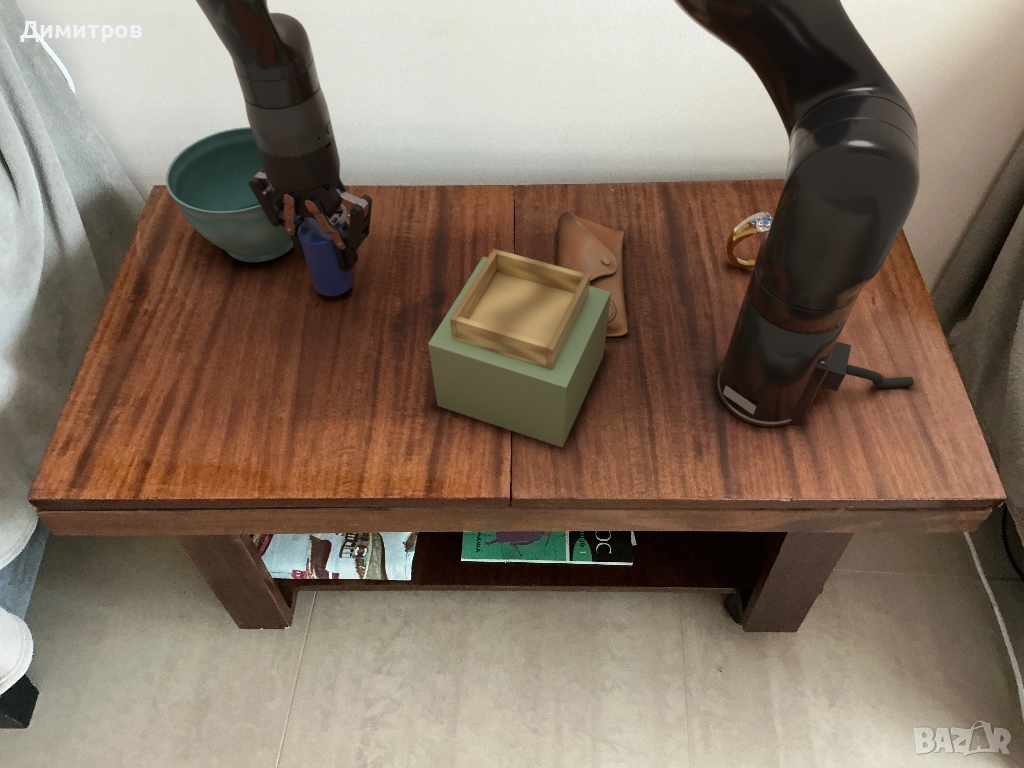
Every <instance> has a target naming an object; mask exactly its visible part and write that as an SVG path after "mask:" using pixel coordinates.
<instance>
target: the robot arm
mask: <svg viewBox="0 0 1024 768" xmlns="http://www.w3.org/2000/svg"><path fill="white" fill-rule="evenodd" d="M195 2H196V4H197V5H198V6H199V8H200V10H201V11H202V13H203V14H204V16H205V18H206V19H207V21H208V22H209V24H210V25H211V27H212V29H213V30H214V33H216V35H217V37H218V38H219V40H220V41H221V43H222V44H223V46H224V47H225V49H226V50H227V52H228V54H229V56H230V58H231V61H232V65H233V67H234V72H235V74H236V77H237V80H238V84H239V86H240V90H241V93H242V97H243V101H244V105H245V112H246V117H247V121H248V124H249V127H250V128H251V131H252V134H253V137H254V140H255V143H256V146H257V150H258V153H259V156H260V159H261V162H262V165H263V168H262V169H261V170H260V171H259V172H258V173H257V174H256V175H255V176H254V177H253V178H252V179H251V180H250V181H249V186H250V187H251V189H252V191H253V193H254V195H255V196H256V198H257V200H258V202H259V203H260V205H261V207H262V209H263V210H264V212H265V214H266V216H267V217H268V219H269V221H270V223H271V224H272V225H273V226H275V227H278V226H279V225H281V226H282V227H284V228H285V231H286V232H287V233H288V234H289V235H290V236H291V240H292V242H293V245H294V246H293V249H294V251H295V252H296V254H297V255H298V258H299V259H300V260H305V257H304V254H303V251H302V247H301V244H300V241H299V237H298V234H297V231H298V227H299V226H300V224H301V223H302V222H303V221H305V220H306V219H307V218H310V217H311V218H313V219H315V220H317V222H318V223H319V225H320V227H321V228H322V230H323V232H324V233H329V235H330V236H331V238H332V240H333V241H334V243H335V245H336V247H335V249H336V253H337V257H338V261H339V265H340V269H341V271H344V272H349V271H350V269H352V270H353V268H354V266H355V265H356V264H357V263H358V261H359V255H358V251H357V250H358V249H359V248H360V247H361V244H363V242H364V241H365V240H366V239H367V238H368V236H369V235H370V231H371V230H370V229H371V219H372V209H373V207H372V206H373V199H372V197H371V196H369V194H362V195H361V196H360V197H358V196H356V195H354V194H351V193H349V192H348V190H347V187H346V186H345V185H344V183H343V181H342V179H341V174H340V173H341V160H340V155H339V151H338V147H337V141H336V138H335V137H336V136H335V134H334V129H333V125H332V119H331V116H330V115H331V114H330V111H329V107H328V103H327V100H326V97H325V94H324V92H323V90H322V87H321V83H320V79H319V75H318V71H317V66H316V62H315V56H314V53H313V50H312V45H311V42H310V38H309V35H308V33H307V30H306V29H305V27H304V24H302V23H301V21H300V20H298V19H297V18H296V17H294V16H292V15H291V14H290V15H289V14H287V13H281V12H270V9H269V6H268V0H195ZM673 2H674V3H675V4H676V6H677V7H678V8H679V10H681V11H682V12H683V13H684V14H685V15H686V16H687V17H688V18H689V19H690V20H692V21H693V22H694V23H695V24H696V25H697V26H699V27H700V28H701V29H703V31H705V32H707V33H708V34H709V35H711V36H712V37H714V38H715V39H716V40H718V41H719V42H721V43H722V44H723V45H725V46H727V47H728V48H729V49H731V50H732V51H733V52H734V53H736V54H737V55H739V56H740V58H742V59H743V61H745V62H746V63H747V65H748V66H749V67H750V68H751V69H752V71H753V72H754V73H755V74H756V76H757V78H758V79H759V81H760V82H761V84H762V85H763V88H764V89H765V91H766V93H767V95H768V96H769V98H770V100H771V102H772V103H773V105H774V108H775V109H776V112H777V113H778V115H779V117H780V119H781V123H782V125H783V127H784V128H785V132H786V134H787V138H788V147H789V149H788V155H787V165H786V172H785V177H784V181H783V182H784V183H783V187H782V189H781V191H780V196H779V199H778V203H777V206H776V209H775V212H774V215H773V221H772V224H771V227H770V230H769V231H768V232H765V235H764V236H763V238H762V240H761V242H760V244H759V247H758V252H757V255H756V258H755V261H756V262H755V265H754V268H753V271H751V275H750V278H749V281H748V284H747V287H746V290H745V294H744V296H743V300H742V303H741V306H740V310H739V312H738V315H737V318H736V321H735V325H734V327H733V331H732V335H731V337H730V341H729V343H728V344H729V345H728V347H727V350H726V352H725V357H724V359H723V362H722V365H721V368H720V369H719V373H718V376H717V379H716V391H717V395H718V398H719V399H720V401H721V403H722V404H723V406H724V407H725V408H726V409H727V411H728V412H730V413H731V414H732V415H733V416H735V417H736V418H738V419H739V420H742V421H743V422H746V423H747V424H750V425H754V426H757V427H762V428H763V427H765V428H776V427H783V426H786V425H789V424H790V425H794V426H795V425H796V426H799V427H800V426H802V424H803V423H804V420H805V419H806V416H807V414H808V412H809V410H810V408H811V406H812V404H813V402H814V400H815V398H816V396H817V394H818V392H819V389H820V388H824V389H827V390H831V391H833V392H838V390H839V388H840V386H841V384H842V383H843V381H844V379H845V376H846V375H848V376H851V377H857V378H860V379H864V380H868V381H871V382H872V384H873V386H875V387H876V388H881V389H882V388H883V389H891V388H902V387H903V388H904V387H913V386H914V382H915V381H914V378H913V376H901V377H890V378H889V377H887V378H886V377H884V376H883V374H881V373H879V372H877V371H874V370H871V369H868V368H865V367H861V366H857V365H852V364H849V359H850V354H851V349H852V344H848V343H845V342H841V341H838V340H839V337H840V336H841V334H842V332H843V329H844V327H845V325H846V323H847V322H848V319H849V317H850V315H851V312H852V310H853V308H854V306H855V304H856V302H857V300H858V298H859V296H860V294H861V292H862V290H863V288H864V286H867V284H869V283H870V282H871V281H872V280H873V279H874V278H875V277H876V275H877V274H878V273H879V272H880V269H881V268H882V266H883V264H884V262H885V261H886V259H887V257H888V255H889V253H890V252H891V250H892V248H893V246H894V244H895V242H896V240H897V239H898V237H899V235H900V233H901V231H902V229H903V227H904V225H905V223H906V222H907V220H908V217H909V216H910V213H911V211H912V209H913V206H914V204H915V202H916V199H917V195H918V192H919V187H920V179H921V176H920V175H921V173H920V171H921V170H920V148H919V146H920V144H919V134H918V133H919V131H918V123H917V119H916V117H915V115H914V112H913V109H912V107H911V105H910V103H909V101H908V99H907V98H906V97H905V96H904V94H903V92H902V91H901V90H900V88H899V87H898V85H897V84H896V83H895V81H894V80H893V78H892V77H891V76H890V74H889V73H888V71H887V70H886V69H885V67H883V65H882V63H881V62H880V61H879V60H878V57H877V56H876V54H875V53H874V52H873V51H872V49H871V48H870V46H869V45H868V43H867V42H866V41H865V39H864V38H863V36H862V34H860V32H859V31H858V29H857V28H856V26H855V24H854V23H853V21H852V19H851V18H850V17H849V14H848V13H847V11H846V9H845V8H844V6H843V3H842V1H841V0H673ZM275 203H276V205H277V207H278V210H277V211H275V209H274V204H275ZM331 217H332V218H331ZM330 218H331V219H330ZM329 219H330V220H329ZM340 227H341V228H342V230H343V232H342V234H341V232H340V230H339V228H340Z"/></svg>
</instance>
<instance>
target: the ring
mask: <svg viewBox="0 0 1024 768" xmlns="http://www.w3.org/2000/svg"><path fill="white" fill-rule="evenodd" d="M773 218H774V216H772V215H771V214H770V213H769V212H767V211H760V212H757V213H754V214H752V215H750V216H749V217H747V218H746V219H743V220H742V221H741V222H740V223H738V225H737V226H735V228H734V229H733V230H732V231H731V233H730V235H728V238H727V241H726V255H727V258H728V260H729V262H730V264H732V265H734V266H736V267H737V268H740V269H743V270H747V271H748V272H752V271H753V268H754V265H755V262H756V259H748V260H744V259H741V258H740V257H739V258H738V257H737V256H736V255H735V253H734V249H735V248H736V246H737V245H738V244H740V243H741V242H742V241H744V240H746V239H748V238H750V237H752V236H755V235H757V234H759V233H762V234H764V233H767V232H768V231H769V230H770V227H771V224H772V221H773ZM747 227H749V228H751V229H747V230H745V229H746V228H747ZM752 227H754V228H752Z"/></svg>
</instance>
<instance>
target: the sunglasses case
mask: <svg viewBox="0 0 1024 768" xmlns="http://www.w3.org/2000/svg"><path fill="white" fill-rule="evenodd" d="M557 220H558V221H557V222H558V223H557V240H556V243H557V244H556V266H559V267H562V268H566V269H570V270H573V271H577V272H581V273H584V274H588V275H590V285H589V286H592V287H595V288H599V289H602V290H606V291H610V292H611V297H610V306H609V314H608V322H607V330H606V338H618V337H623V336H624V337H625V336H626V335H628V333H629V323H628V315H627V309H626V301H625V300H626V299H625V288H624V264H623V263H624V262H623V261H624V259H623V255H624V254H623V250H624V235H625V230H622V229H614V228H611V227H608V226H605V225H602V224H599V223H597V222H593V221H590V220H588V219H585V218H582V217H580V216H577V215H574V214H573V212H572V211H569V210H567V211H564V212H563V213H562V214H560V216H559V217H558V219H557Z"/></svg>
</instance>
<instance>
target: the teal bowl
mask: <svg viewBox="0 0 1024 768" xmlns="http://www.w3.org/2000/svg"><path fill="white" fill-rule="evenodd" d="M262 168H263V165H262V162H261V159H260V156H259V153H258V150H257V146H256V143H255V140H254V137H253V134H252V131H251V128H250V126H246V127H236V128H230V129H224V130H221V131H217V132H214V133H212V134H209V135H207V136H204V137H202V138H200V139H198V140H196V141H194V142H193V143H191V144H189V145H188V146H187V147H185V148H184V149H182V150H181V151H180V152H179V153H178V154H177V155H176V156H175V157H174V158H173V160H172V161H171V163H170V164H169V166H168V169H167V171H166V175H165V186H166V189H167V191H168V193H169V195H170V196H171V198H172V199H173V201H174V202H175V204H177V206H178V208H179V209H180V211H181V214H182V215H183V216H184V218H185V219H186V220H187V221H188V223H189V224H190V225H191V226H192V228H193V229H195V230H196V232H197V233H198V234H200V235H201V236H202V237H203V238H204V239H206V240H207V241H208V242H210V243H211V244H213V245H215V246H216V247H218V248H220V249H222V250H224V251H225V252H226V254H228V255H229V256H230V257H232V258H234V259H235V260H237V261H241V262H245V263H263V262H267V261H272V260H275V259H277V258H279V257H281V256H283V255H285V254H287V253H288V252H289V251H291V249H293V248H294V245H293V242H292V240H291V236H290V235H289V234H288V233H287V232H286V231H285V228H284V227H282V226H281V225H279V226H278V227H275V226H273V225H272V224H271V223H270V221H269V219H268V217H267V216H266V214H265V212H264V210H263V209H262V207H261V205H260V203H259V202H258V200H257V198H256V196H255V195H254V193H253V191H252V189H251V187H250V186H249V181H250V180H251V179H252V178H253V177H254V176H255V175H256V174H257V173H258V172H259V171H260V170H261V169H262ZM274 209H275V211H277V210H278V207H277V205H276V203H275V204H274Z"/></svg>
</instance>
